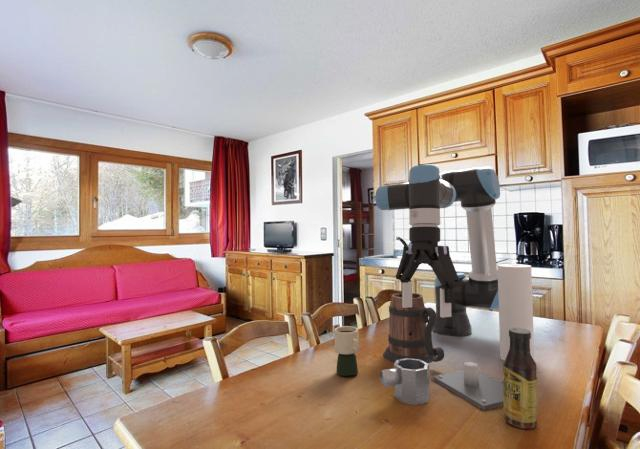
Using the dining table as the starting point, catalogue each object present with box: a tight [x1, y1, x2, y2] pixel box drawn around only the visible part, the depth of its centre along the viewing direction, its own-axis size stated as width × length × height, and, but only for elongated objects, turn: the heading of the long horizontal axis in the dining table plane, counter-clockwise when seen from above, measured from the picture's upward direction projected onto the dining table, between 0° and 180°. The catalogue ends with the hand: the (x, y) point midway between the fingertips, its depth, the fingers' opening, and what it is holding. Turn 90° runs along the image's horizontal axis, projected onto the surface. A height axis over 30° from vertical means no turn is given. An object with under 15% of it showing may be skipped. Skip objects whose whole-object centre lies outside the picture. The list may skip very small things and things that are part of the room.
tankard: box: [382, 292, 445, 364], centre depth 113 cm, size 24×17×20 cm
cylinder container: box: [496, 263, 535, 361], centre depth 111 cm, size 9×9×30 cm
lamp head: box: [379, 358, 431, 406], centre depth 86 cm, size 12×8×8 cm, turn 110°
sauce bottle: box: [502, 328, 538, 430], centre depth 74 cm, size 6×6×20 cm
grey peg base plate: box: [432, 361, 504, 411], centre depth 91 cm, size 18×14×6 cm
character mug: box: [333, 325, 360, 377], centre depth 102 cm, size 11×7×13 cm, turn 30°
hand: (425, 311), depth 87 cm, fingers open, 13 cm apart
